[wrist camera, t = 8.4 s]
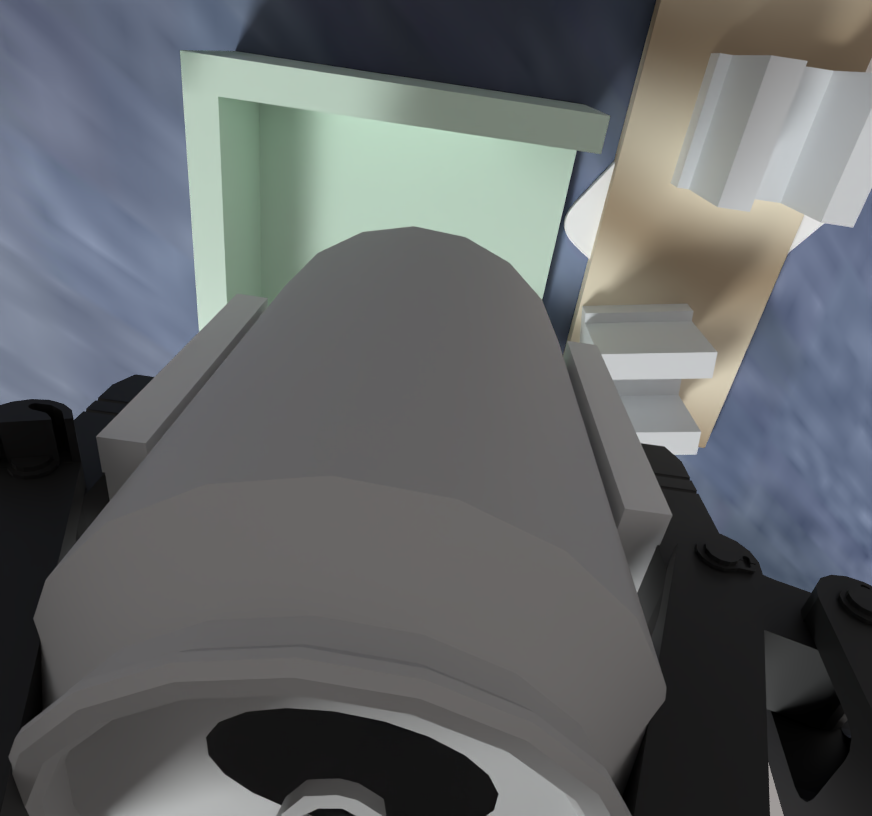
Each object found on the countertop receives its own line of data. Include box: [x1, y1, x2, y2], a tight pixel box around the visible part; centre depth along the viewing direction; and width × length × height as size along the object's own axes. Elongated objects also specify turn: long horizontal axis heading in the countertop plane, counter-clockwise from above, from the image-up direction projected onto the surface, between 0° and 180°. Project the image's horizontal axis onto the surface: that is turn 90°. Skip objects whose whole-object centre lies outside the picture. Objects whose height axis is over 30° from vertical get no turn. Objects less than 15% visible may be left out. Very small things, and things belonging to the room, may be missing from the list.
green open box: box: [180, 50, 610, 332], centre depth 22 cm, size 12×12×4 cm
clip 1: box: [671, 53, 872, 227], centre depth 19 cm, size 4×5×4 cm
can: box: [9, 226, 667, 816], centre depth 11 cm, size 8×8×12 cm
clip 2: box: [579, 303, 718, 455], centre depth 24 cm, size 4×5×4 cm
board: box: [563, 0, 872, 448], centre depth 23 cm, size 17×7×1 cm, turn 172°
